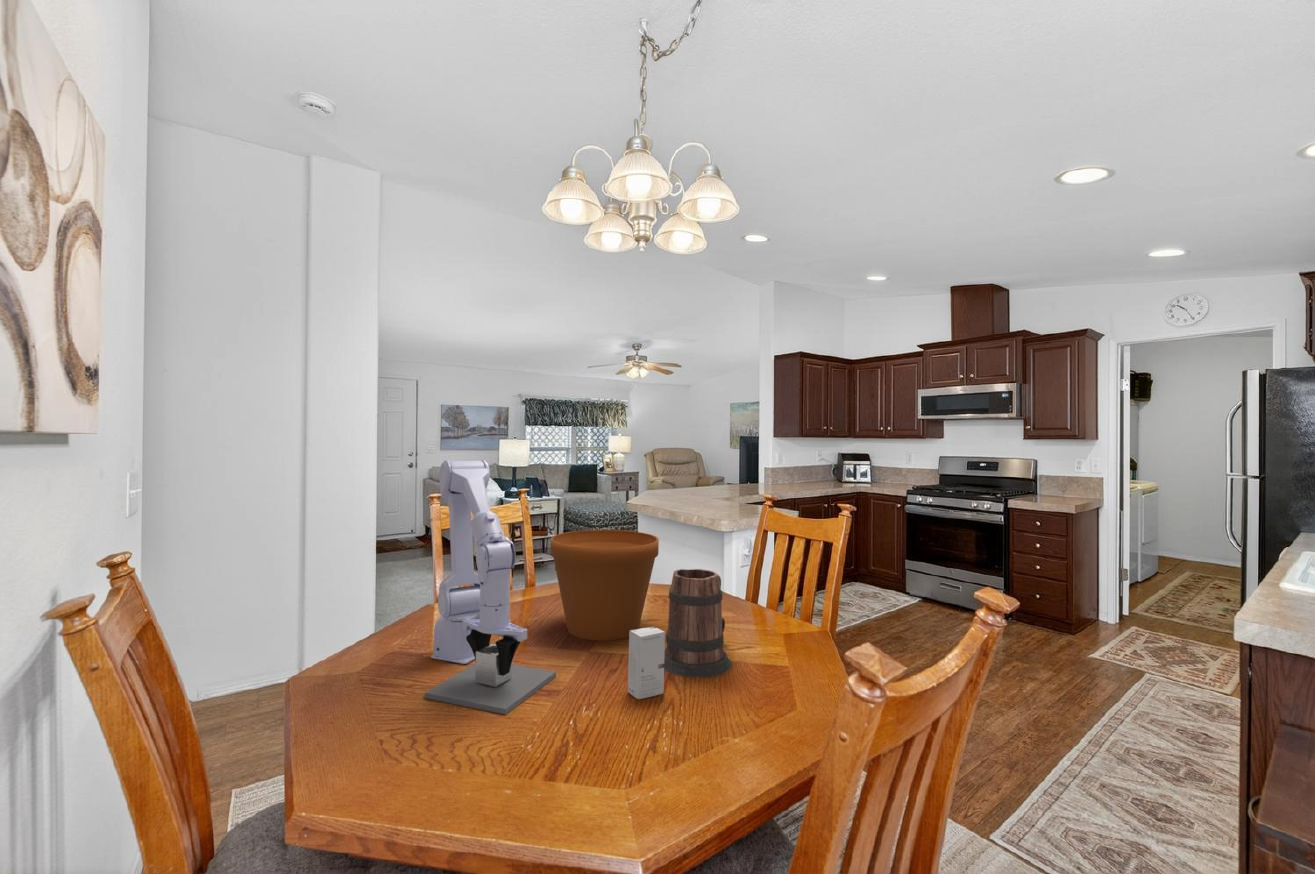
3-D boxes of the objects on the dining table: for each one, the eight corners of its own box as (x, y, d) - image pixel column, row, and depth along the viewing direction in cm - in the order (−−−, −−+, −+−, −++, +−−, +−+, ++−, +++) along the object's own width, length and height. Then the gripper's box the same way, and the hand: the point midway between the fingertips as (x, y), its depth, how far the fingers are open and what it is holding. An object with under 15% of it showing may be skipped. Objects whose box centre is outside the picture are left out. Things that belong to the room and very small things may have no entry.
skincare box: (638, 700, 112) (639, 637, 112) (626, 692, 116) (627, 630, 116) (665, 693, 115) (666, 631, 115) (652, 685, 119) (654, 625, 119)
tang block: (424, 697, 111) (424, 676, 111) (482, 663, 128) (483, 645, 128) (505, 714, 105) (506, 692, 105) (555, 676, 122) (556, 657, 122)
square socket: (475, 681, 116) (475, 651, 116) (492, 673, 120) (492, 643, 120) (495, 686, 114) (496, 655, 114) (511, 677, 118) (512, 647, 118)
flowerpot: (676, 624, 158) (678, 536, 158) (614, 656, 134) (616, 553, 134) (594, 606, 173) (596, 526, 173) (525, 632, 149) (527, 539, 149)
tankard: (713, 684, 120) (715, 586, 120) (642, 667, 128) (644, 575, 128) (753, 649, 141) (754, 565, 141) (689, 636, 149) (690, 557, 149)
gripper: (537, 602, 117) (535, 670, 117) (479, 593, 123) (478, 658, 123) (514, 611, 111) (513, 683, 111) (455, 601, 117) (454, 670, 117)
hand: (493, 671), depth 117 cm, fingers closed on square socket, 5 cm apart
